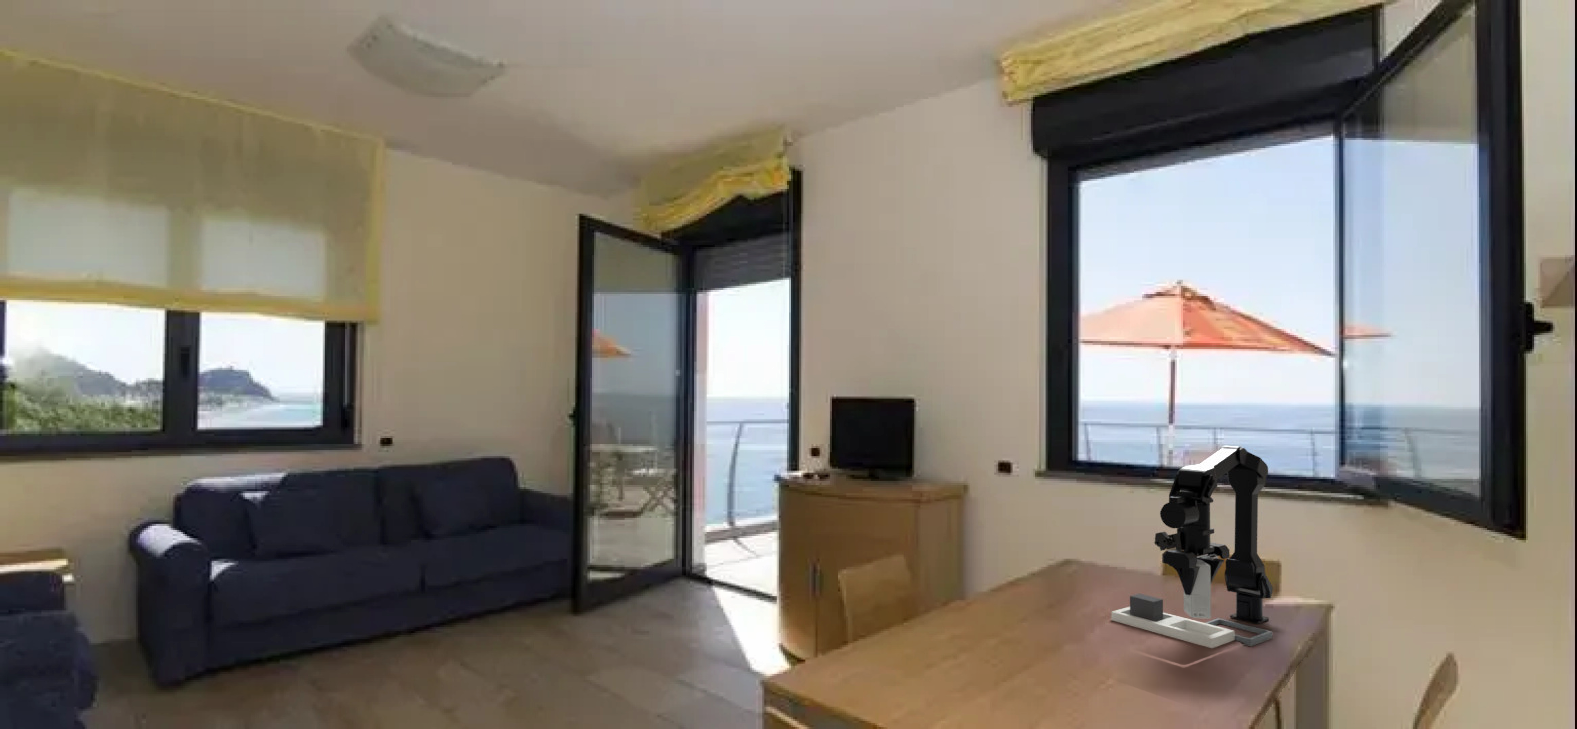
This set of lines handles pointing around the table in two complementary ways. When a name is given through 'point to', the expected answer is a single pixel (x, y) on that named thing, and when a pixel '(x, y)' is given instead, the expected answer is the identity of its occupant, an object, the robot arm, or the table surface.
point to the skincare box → (1200, 594)
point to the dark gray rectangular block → (1146, 607)
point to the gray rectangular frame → (1247, 641)
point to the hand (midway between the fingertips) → (1196, 592)
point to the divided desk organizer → (1178, 628)
